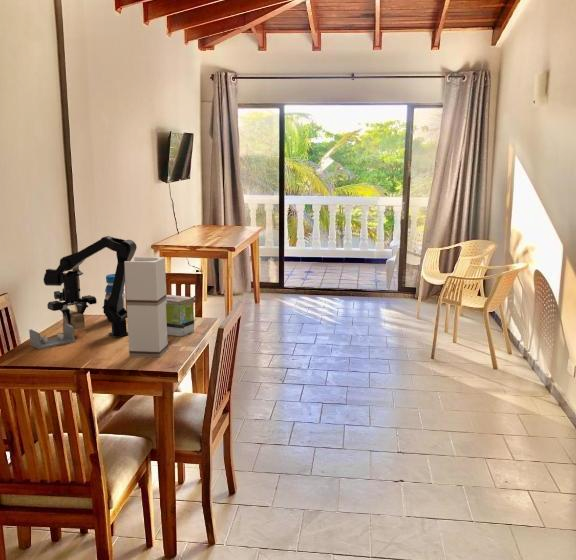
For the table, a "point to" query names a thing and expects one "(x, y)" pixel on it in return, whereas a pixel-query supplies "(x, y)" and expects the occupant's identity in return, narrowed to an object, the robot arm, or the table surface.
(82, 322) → the brown rectangular block
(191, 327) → the green and white box
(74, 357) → the table surface
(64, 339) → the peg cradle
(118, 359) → the table surface
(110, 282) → the beverage bottle
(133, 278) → the white banded pillar
